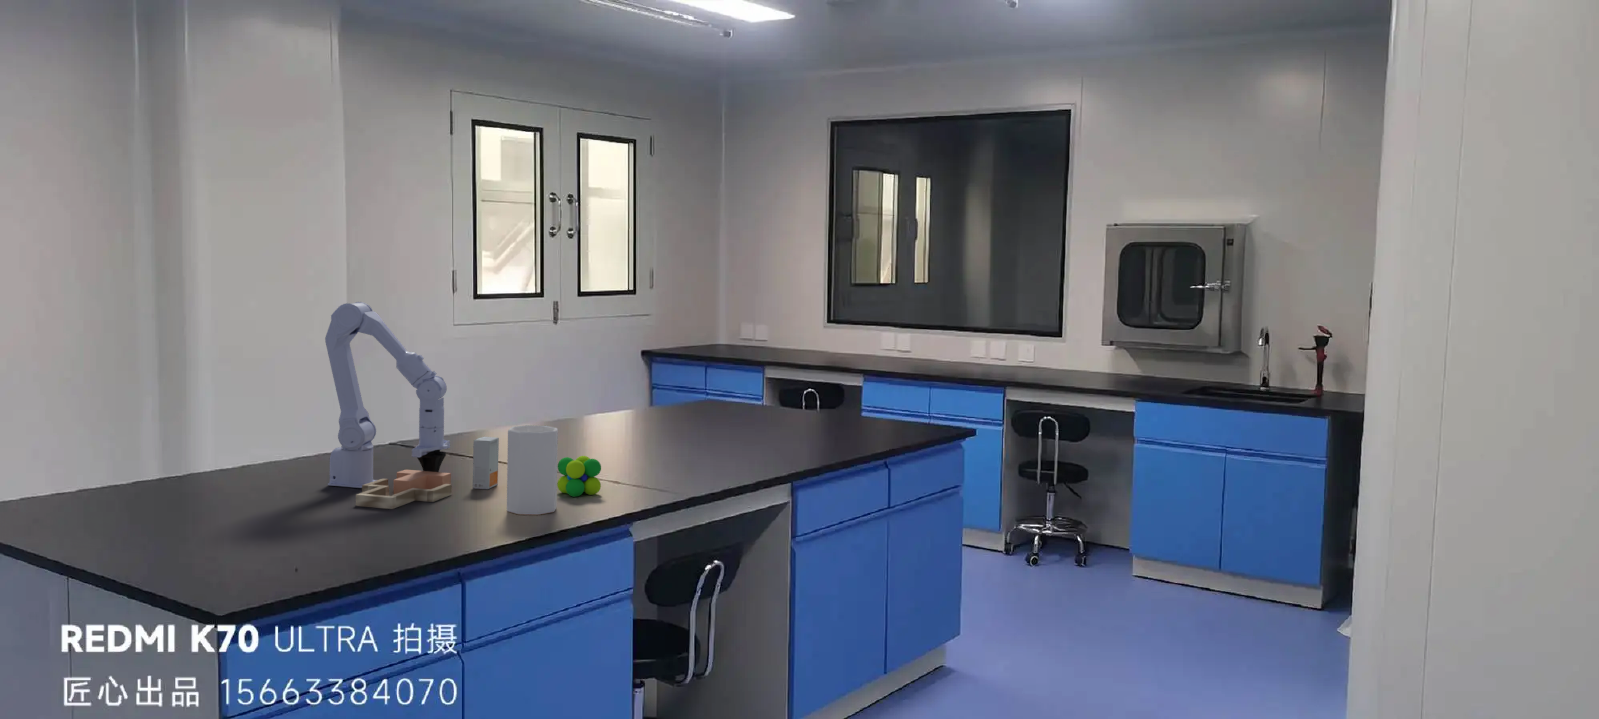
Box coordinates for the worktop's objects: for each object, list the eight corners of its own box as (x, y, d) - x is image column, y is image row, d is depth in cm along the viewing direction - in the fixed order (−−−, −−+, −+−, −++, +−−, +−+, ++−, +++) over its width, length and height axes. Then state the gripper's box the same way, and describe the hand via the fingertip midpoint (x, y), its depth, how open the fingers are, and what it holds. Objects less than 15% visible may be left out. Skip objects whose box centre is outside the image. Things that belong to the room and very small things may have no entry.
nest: (337, 504, 256) (337, 493, 256) (382, 488, 273) (382, 478, 273) (410, 510, 252) (411, 499, 252) (451, 494, 270) (451, 484, 270)
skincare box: (488, 489, 277) (489, 441, 276) (472, 488, 277) (472, 440, 276) (498, 485, 283) (499, 437, 282) (482, 483, 283) (482, 436, 282)
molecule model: (570, 499, 270) (603, 495, 276) (571, 462, 269) (604, 459, 275) (554, 492, 277) (586, 488, 282) (554, 456, 276) (587, 453, 282)
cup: (512, 517, 250) (514, 433, 248) (501, 506, 260) (502, 425, 258) (562, 513, 255) (564, 431, 253) (549, 503, 265) (551, 424, 263)
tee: (377, 495, 266) (377, 478, 266) (405, 485, 278) (405, 469, 277) (425, 499, 264) (425, 482, 263) (450, 489, 275) (451, 473, 275)
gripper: (431, 432, 269) (430, 488, 270) (461, 423, 283) (460, 477, 284) (404, 430, 270) (403, 486, 271) (435, 421, 284) (434, 475, 286)
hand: (431, 481), depth 278 cm, fingers closed
